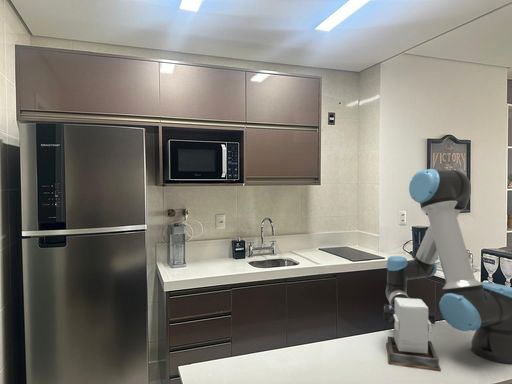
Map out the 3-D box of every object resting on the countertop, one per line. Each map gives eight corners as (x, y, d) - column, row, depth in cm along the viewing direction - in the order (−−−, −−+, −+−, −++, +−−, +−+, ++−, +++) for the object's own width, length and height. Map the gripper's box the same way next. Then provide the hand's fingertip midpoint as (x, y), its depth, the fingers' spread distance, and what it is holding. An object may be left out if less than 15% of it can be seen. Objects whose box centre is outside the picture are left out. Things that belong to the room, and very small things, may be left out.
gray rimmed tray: (432, 349, 123) (432, 340, 122) (440, 371, 108) (440, 361, 108) (386, 344, 127) (386, 335, 127) (388, 364, 113) (388, 354, 113)
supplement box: (428, 354, 113) (429, 307, 112) (398, 351, 114) (399, 305, 114) (421, 341, 121) (422, 298, 121) (393, 339, 123) (394, 296, 123)
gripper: (431, 315, 133) (450, 341, 111) (371, 311, 138) (377, 335, 116) (431, 295, 133) (451, 317, 111) (371, 291, 137) (378, 312, 115)
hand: (413, 326), depth 113 cm, fingers closed on supplement box, 9 cm apart
